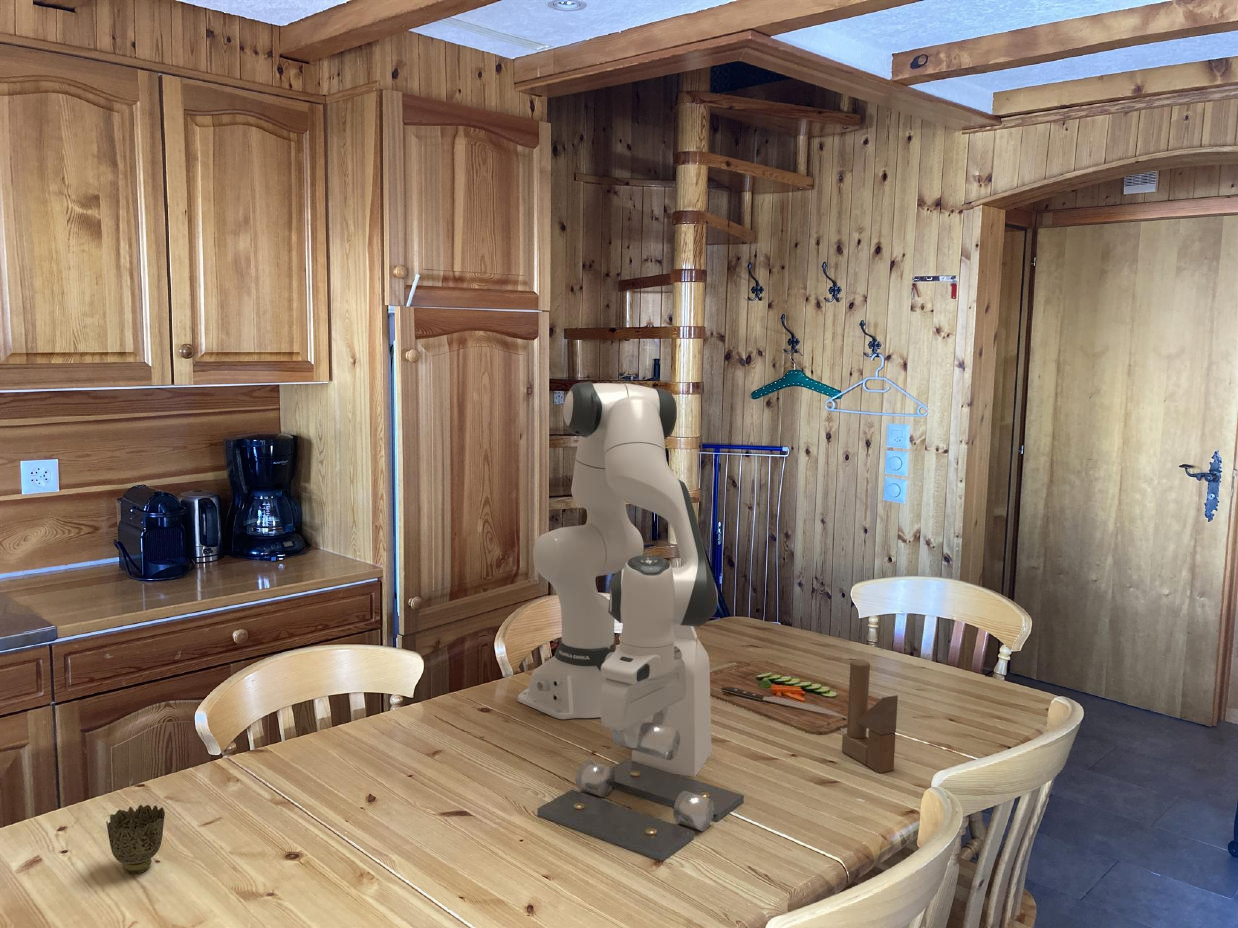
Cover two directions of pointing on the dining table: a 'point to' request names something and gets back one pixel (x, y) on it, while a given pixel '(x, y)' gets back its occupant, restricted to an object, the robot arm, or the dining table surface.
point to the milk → (687, 710)
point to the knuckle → (652, 740)
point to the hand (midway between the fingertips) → (645, 740)
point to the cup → (136, 836)
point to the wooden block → (869, 723)
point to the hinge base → (634, 828)
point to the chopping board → (784, 696)
